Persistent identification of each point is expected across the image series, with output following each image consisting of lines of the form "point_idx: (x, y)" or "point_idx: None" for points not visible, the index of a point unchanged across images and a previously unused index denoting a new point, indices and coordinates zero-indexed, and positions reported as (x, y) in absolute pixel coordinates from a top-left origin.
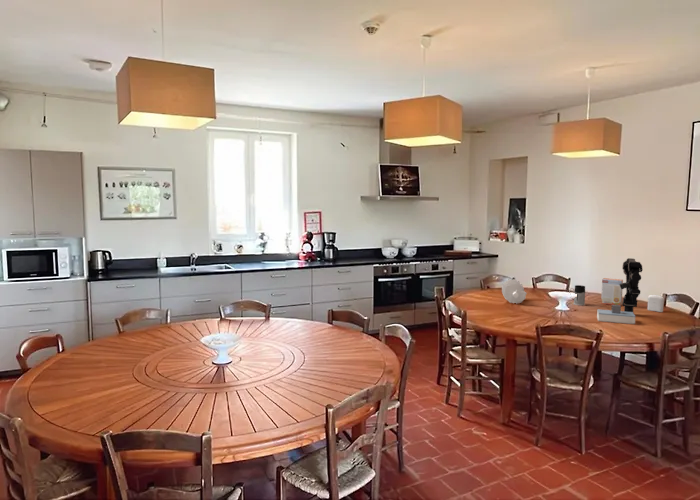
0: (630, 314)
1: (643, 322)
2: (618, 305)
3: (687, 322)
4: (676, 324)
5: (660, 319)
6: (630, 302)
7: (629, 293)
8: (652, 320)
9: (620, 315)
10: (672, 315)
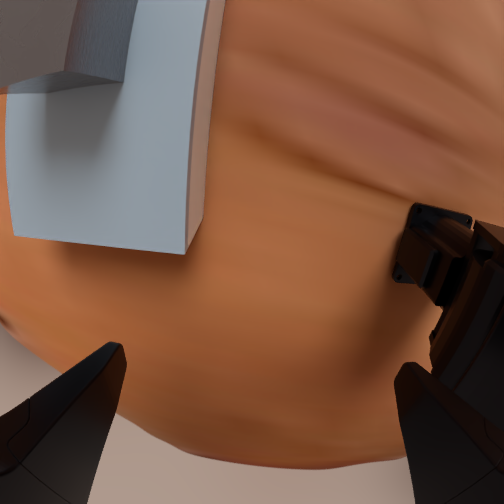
0: (48, 200)
1: (153, 288)
2: (35, 50)
3: (258, 456)
4: (193, 424)
5: (297, 399)
6: (454, 321)
7: (500, 437)
8: (252, 360)
9: (11, 97)
10: (391, 433)
